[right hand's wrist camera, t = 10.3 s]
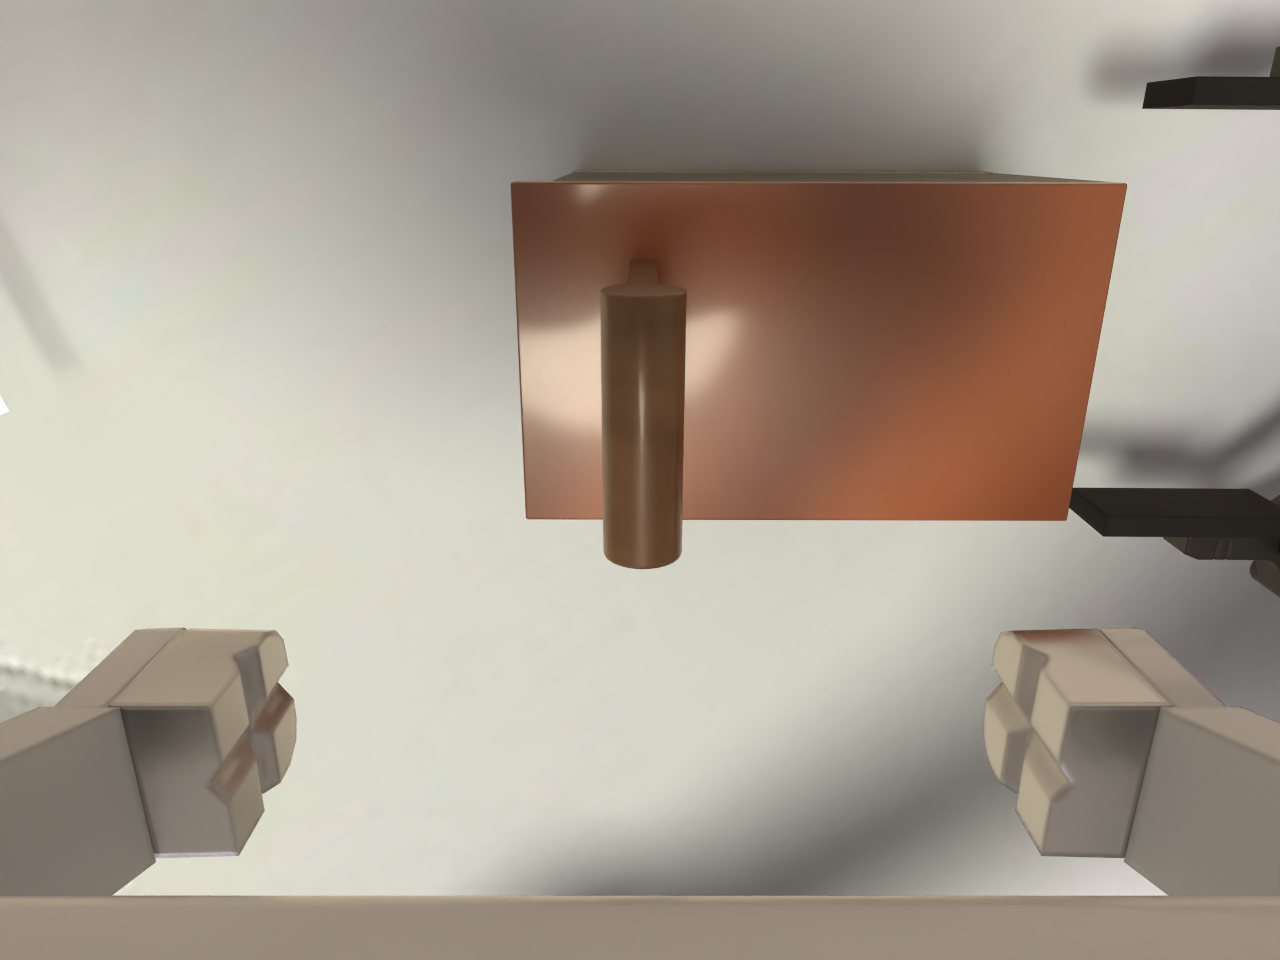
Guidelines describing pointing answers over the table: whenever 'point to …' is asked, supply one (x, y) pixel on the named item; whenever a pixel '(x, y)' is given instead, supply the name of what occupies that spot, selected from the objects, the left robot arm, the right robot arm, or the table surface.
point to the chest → (804, 176)
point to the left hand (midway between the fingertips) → (1122, 319)
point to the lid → (805, 350)
